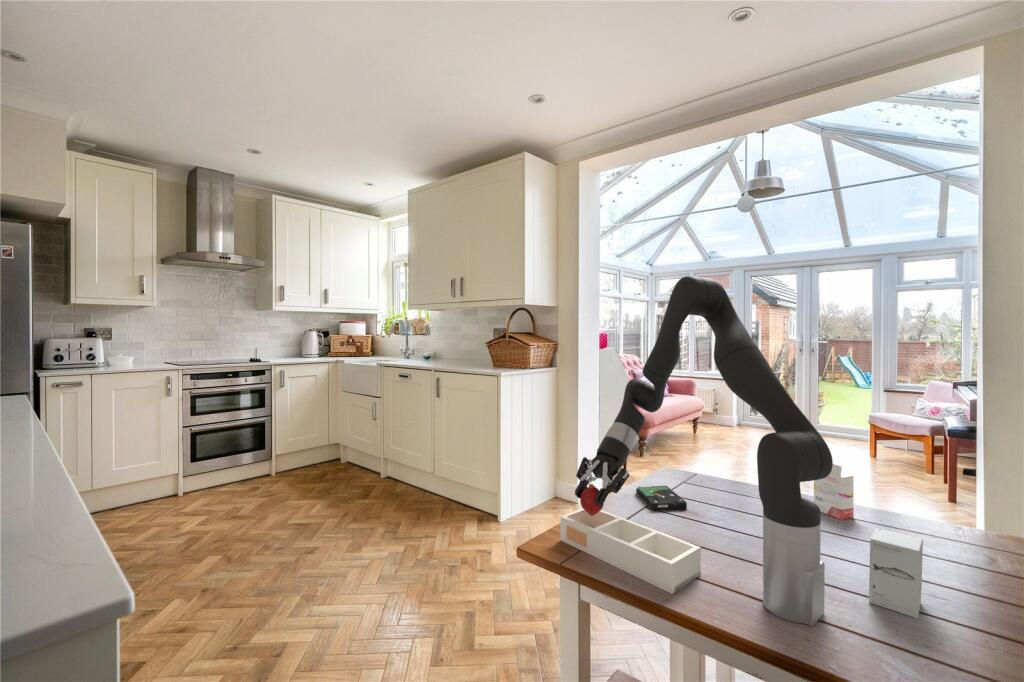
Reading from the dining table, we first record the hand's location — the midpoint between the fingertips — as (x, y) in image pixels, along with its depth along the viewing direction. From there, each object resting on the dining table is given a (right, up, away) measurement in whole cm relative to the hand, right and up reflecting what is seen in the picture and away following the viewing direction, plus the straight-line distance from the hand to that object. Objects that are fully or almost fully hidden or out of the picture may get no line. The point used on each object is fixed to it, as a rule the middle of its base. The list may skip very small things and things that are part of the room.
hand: (587, 500), depth 114 cm
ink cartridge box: (+72, -10, +17) cm, 75 cm away
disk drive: (+27, -10, +28) cm, 40 cm away
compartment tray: (+8, -11, -7) cm, 15 cm away
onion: (+1, -4, +1) cm, 5 cm away
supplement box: (+54, -11, -26) cm, 61 cm away
